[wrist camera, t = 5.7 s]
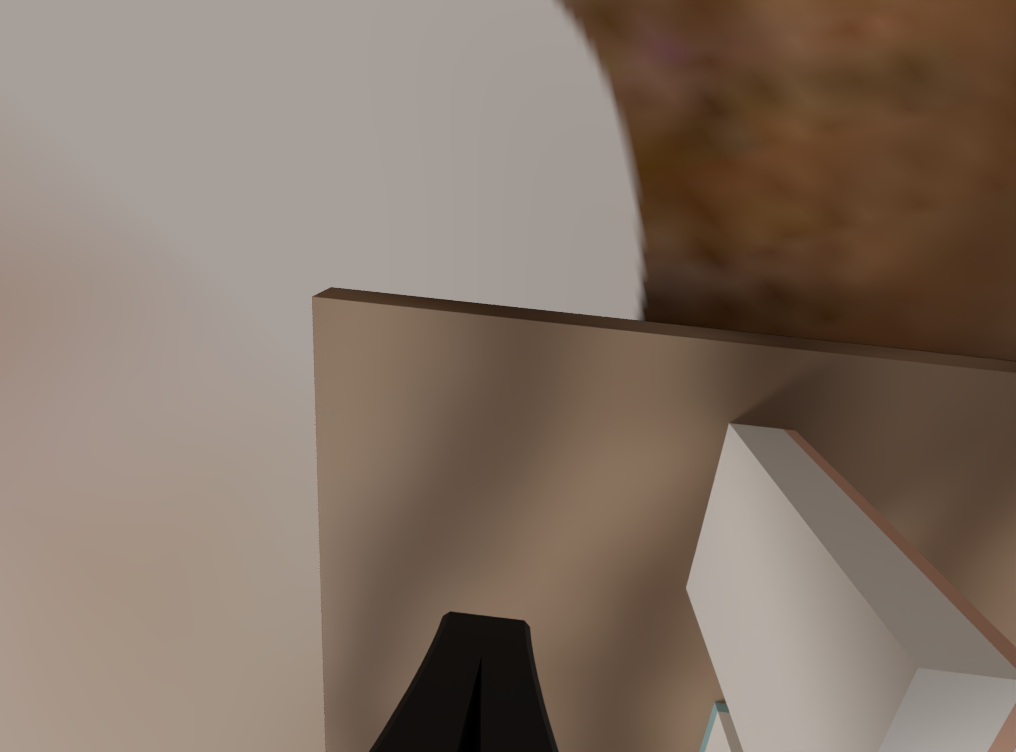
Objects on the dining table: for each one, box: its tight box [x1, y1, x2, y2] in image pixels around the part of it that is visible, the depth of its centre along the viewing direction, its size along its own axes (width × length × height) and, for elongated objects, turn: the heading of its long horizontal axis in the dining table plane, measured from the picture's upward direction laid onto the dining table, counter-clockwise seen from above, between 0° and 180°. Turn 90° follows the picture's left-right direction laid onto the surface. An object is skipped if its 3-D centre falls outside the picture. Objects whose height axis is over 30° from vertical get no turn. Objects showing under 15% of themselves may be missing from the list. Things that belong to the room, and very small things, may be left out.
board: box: [312, 287, 1016, 752], centre depth 16 cm, size 20×18×1 cm
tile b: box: [686, 423, 1016, 752], centre depth 11 cm, size 2×5×7 cm, turn 174°
